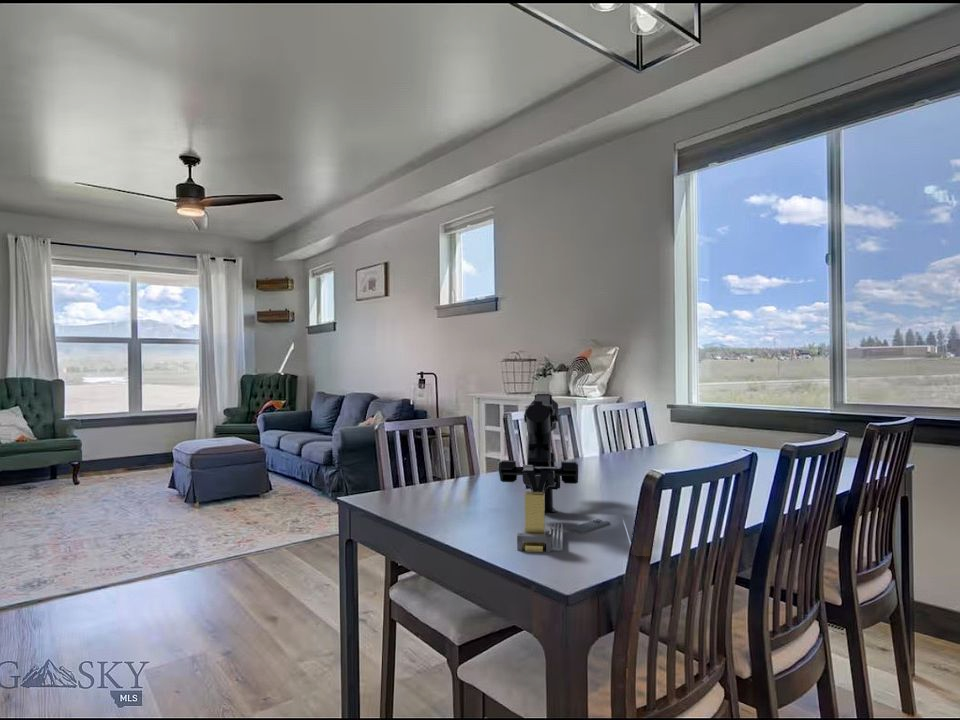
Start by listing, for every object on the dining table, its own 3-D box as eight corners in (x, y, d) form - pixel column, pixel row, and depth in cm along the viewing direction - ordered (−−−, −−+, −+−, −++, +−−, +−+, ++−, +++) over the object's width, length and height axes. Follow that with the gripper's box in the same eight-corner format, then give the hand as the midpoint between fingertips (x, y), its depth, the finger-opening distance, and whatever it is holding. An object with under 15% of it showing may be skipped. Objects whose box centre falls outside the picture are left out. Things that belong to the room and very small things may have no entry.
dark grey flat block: (569, 535, 136) (569, 527, 136) (597, 526, 142) (597, 518, 142) (583, 539, 133) (583, 530, 133) (610, 530, 139) (610, 521, 139)
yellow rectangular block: (526, 542, 127) (525, 491, 127) (544, 542, 126) (544, 492, 126) (524, 551, 121) (523, 498, 121) (543, 552, 120) (543, 498, 120)
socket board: (512, 533, 136) (512, 516, 136) (564, 534, 135) (563, 517, 135) (504, 556, 121) (504, 537, 121) (563, 558, 119) (563, 539, 119)
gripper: (577, 465, 149) (578, 521, 139) (504, 464, 152) (500, 519, 141) (577, 440, 141) (578, 497, 131) (500, 439, 144) (495, 495, 133)
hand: (537, 503), depth 134 cm, fingers closed
